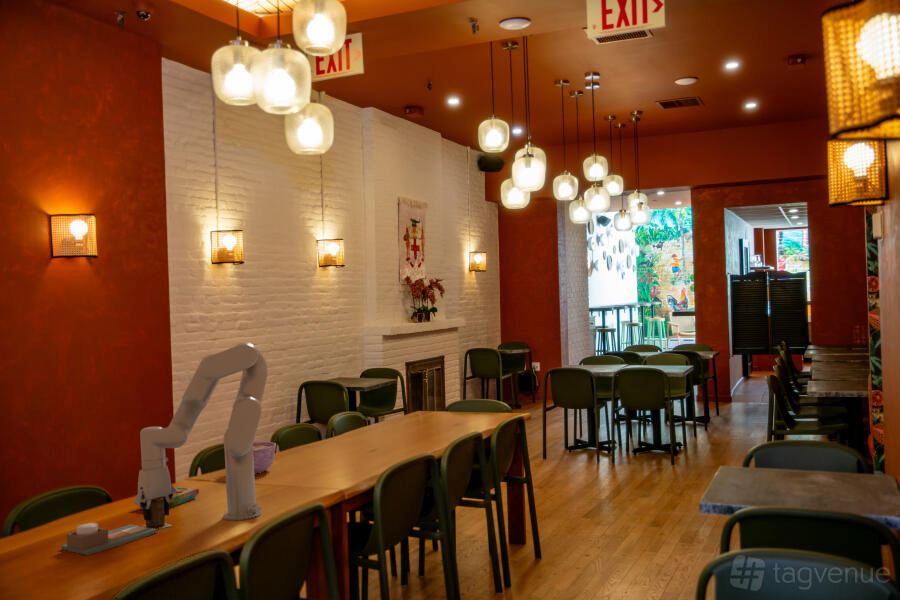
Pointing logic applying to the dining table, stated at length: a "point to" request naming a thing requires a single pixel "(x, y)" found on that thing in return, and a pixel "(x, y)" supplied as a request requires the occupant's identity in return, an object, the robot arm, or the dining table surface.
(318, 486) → the dining table surface
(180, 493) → the puzzle game
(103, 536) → the board
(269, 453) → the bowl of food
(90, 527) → the dome
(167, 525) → the condiment
